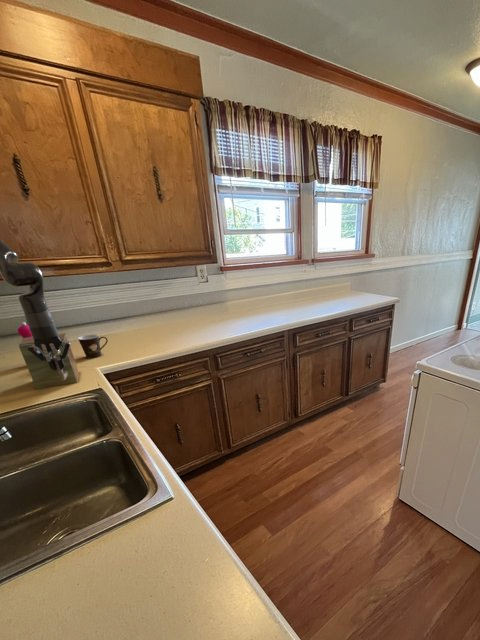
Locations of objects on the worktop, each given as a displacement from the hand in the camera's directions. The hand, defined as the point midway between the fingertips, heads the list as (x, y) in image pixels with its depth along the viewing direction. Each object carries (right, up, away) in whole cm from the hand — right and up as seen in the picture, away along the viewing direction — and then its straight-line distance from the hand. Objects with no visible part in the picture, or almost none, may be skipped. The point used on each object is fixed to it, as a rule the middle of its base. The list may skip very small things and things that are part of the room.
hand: (58, 369), depth 123 cm
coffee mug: (-10, +10, +40) cm, 43 cm away
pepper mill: (-31, +5, +30) cm, 44 cm away
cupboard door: (-5, -7, +6) cm, 10 cm away
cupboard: (-10, -3, +13) cm, 17 cm away
